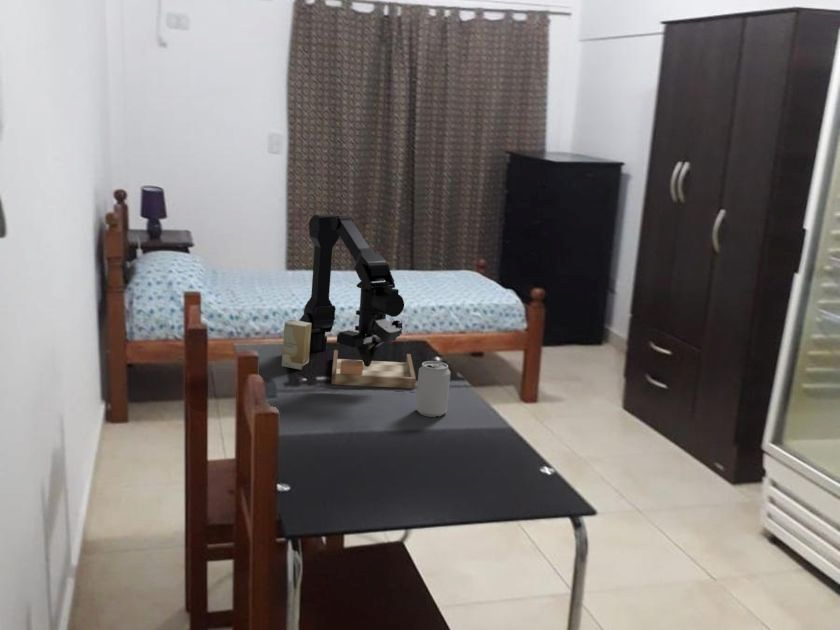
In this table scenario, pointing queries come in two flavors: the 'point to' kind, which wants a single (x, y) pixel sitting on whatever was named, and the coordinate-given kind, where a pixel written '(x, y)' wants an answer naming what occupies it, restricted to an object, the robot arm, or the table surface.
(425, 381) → the can
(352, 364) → the rust block
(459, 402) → the table surface
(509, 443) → the table surface
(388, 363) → the tray
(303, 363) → the skincare box
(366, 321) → the robot arm
